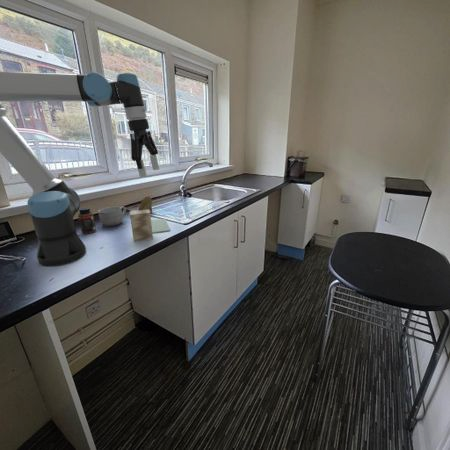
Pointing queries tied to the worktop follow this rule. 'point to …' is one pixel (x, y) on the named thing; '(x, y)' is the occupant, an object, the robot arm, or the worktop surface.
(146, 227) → the beech block
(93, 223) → the supplement bottle
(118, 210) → the teacup
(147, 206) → the rock
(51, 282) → the worktop surface
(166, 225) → the plate
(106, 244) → the worktop surface
